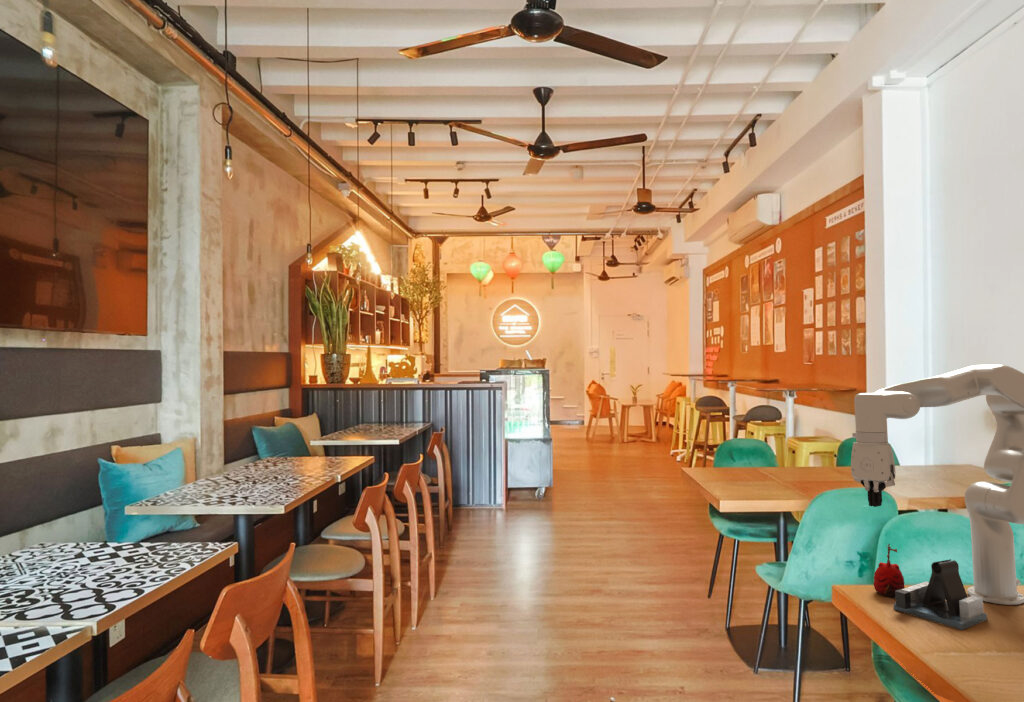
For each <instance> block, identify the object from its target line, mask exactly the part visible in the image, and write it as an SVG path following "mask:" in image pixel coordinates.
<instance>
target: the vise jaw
mask: <svg viewBox="0 0 1024 702" xmlns="http://www.w3.org/2000/svg"><path fill="white" fill-rule="evenodd" d="M928 584H929V581H923V582H921V583H917V584H914V585H910V586H908V587H905V588H904V589H900V590H896V591H895V597H894V598H895V599H894V600H895V603H896V607H900V608H903V609H908V608H911V607H912V606H914V605H917V604H920V603H923V600H924V596H925V593H926V590H927V587H928Z"/></svg>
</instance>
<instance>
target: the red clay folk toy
mask: <svg viewBox="0 0 1024 702" xmlns="http://www.w3.org/2000/svg"><path fill="white" fill-rule="evenodd" d="M885 546H886V547H887V554H886V558H887V561H886V562H882V561H880V562H879V563H878V567H877V568H876V570H875V571H874V574H873V587H874V588H873V589H874V590H875V591H876V593H878V594H879V595H881V596H884V597H890V598H895V591H896V590H900V589H904V588H906V587H905V578H904V576H903V573H902V571H901V570H900V565H899V564H897V563H891V560H890V558H891V557H890V552H891V551H893V552H895V553H898V549H897V548H895V549H893V548H891V546H890V543H888V544H886V545H885Z"/></svg>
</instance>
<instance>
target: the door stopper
mask: <svg viewBox="0 0 1024 702" xmlns="http://www.w3.org/2000/svg"><path fill="white" fill-rule="evenodd" d="M930 566H931V567H930V568H931V574H930V579H929V581H928V582H929V584H928V587H927V590H926V593H925V596H924V600H923V604H925V605H928V606H931V607H934V608H937V609H940V610H942V611H945V612H948V613H951V614H954V615H957V614H960V605H959V601H960V600H962V599H965V598H968V597H969V596H968V593H967V591H966V589H965V586H964V584H963V580H962V578H961V576H960V573H959V572H960V571H959V568H960V567H959V566H960V565H959V563H958V562H957V561H956V560H955V559H953V560H952V559H946V560H944V559H943V560H941V561H934V562H932V563H931V565H930Z"/></svg>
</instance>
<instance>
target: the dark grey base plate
mask: <svg viewBox="0 0 1024 702" xmlns="http://www.w3.org/2000/svg"><path fill="white" fill-rule="evenodd" d="M959 605H960V614H957V615H954V614H951V613H948V612H945V611H942V610H940V609H937V608H934V607H931V606H928V605H925V604H923V603H920V604H917V605H914V606H912V607H911V608H908V609H903V608H900V607H896V602H895V603H893V609H894V611H898V612H902V613H904V612H905V614H908V615H911V614H912V615H911V616H914V615H915V617H917V616H918V618H921V619H923V620H928V621H931V622H934V623H936V624H941V625H945V626H947V627H951V628H953V629H957V630H960V631H963V630H965V629H967V628H971V627H973V626H976V625H978V624H980V623H983V622H985V621H987V620H988V615H987V613H985V612H984V601H983V597H979V596H975V595H973V596H970V595H969V596H968V598H965V599H962V600H960V601H959Z"/></svg>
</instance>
